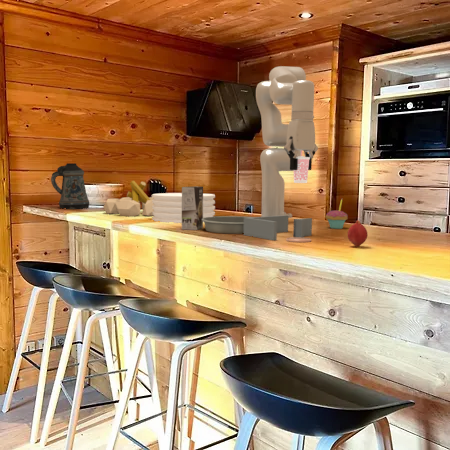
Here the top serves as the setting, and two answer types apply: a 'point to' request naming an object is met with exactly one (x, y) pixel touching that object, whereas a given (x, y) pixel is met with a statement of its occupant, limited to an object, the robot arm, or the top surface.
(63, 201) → the beer stein
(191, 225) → the coffee box
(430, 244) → the top surface
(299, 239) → the coaster
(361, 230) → the onion
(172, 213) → the plate stack
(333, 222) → the cupcake
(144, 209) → the campfire
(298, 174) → the beverage cup
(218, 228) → the cake pan
